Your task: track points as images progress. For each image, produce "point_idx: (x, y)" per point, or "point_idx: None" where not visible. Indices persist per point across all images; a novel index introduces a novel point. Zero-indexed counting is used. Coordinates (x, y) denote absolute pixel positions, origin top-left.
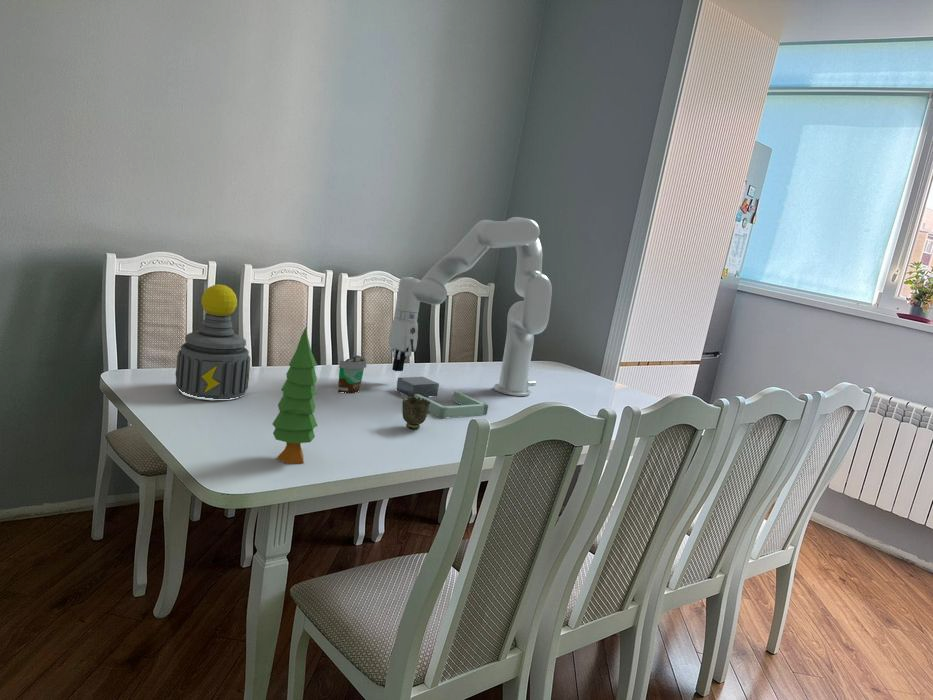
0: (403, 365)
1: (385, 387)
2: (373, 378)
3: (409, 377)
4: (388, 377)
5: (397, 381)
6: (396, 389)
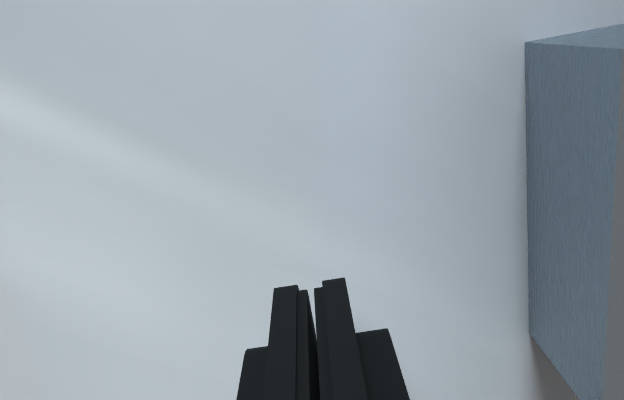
0: (353, 324)
1: (427, 382)
2: (132, 374)
3: (620, 290)
4: (58, 218)
5: (576, 394)
6: (534, 337)
